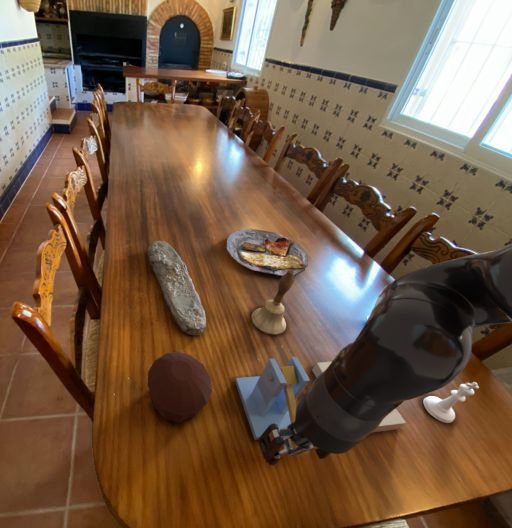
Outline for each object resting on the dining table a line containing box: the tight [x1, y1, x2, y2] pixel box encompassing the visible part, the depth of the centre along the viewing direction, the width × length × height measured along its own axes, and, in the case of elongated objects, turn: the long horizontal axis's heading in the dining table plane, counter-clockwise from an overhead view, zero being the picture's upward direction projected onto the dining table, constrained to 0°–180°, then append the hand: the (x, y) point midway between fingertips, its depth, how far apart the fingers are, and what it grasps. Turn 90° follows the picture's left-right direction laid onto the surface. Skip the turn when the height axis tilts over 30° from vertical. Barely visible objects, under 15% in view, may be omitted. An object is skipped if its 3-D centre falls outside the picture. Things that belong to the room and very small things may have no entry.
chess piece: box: [423, 381, 480, 424], centre depth 55 cm, size 5×5×10 cm
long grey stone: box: [147, 240, 207, 336], centre depth 79 cm, size 35×5×10 cm
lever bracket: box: [234, 356, 311, 441], centre depth 52 cm, size 11×9×13 cm
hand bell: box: [250, 270, 295, 335], centre depth 68 cm, size 8×8×16 cm
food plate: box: [226, 228, 309, 277], centre depth 93 cm, size 25×23×4 cm
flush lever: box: [279, 365, 311, 457], centre depth 48 cm, size 13×3×3 cm
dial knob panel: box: [311, 361, 407, 433], centre depth 57 cm, size 13×10×4 cm
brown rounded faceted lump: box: [147, 351, 213, 424], centre depth 53 cm, size 12×11×10 cm
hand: (293, 455), depth 48 cm, fingers open, 8 cm apart
